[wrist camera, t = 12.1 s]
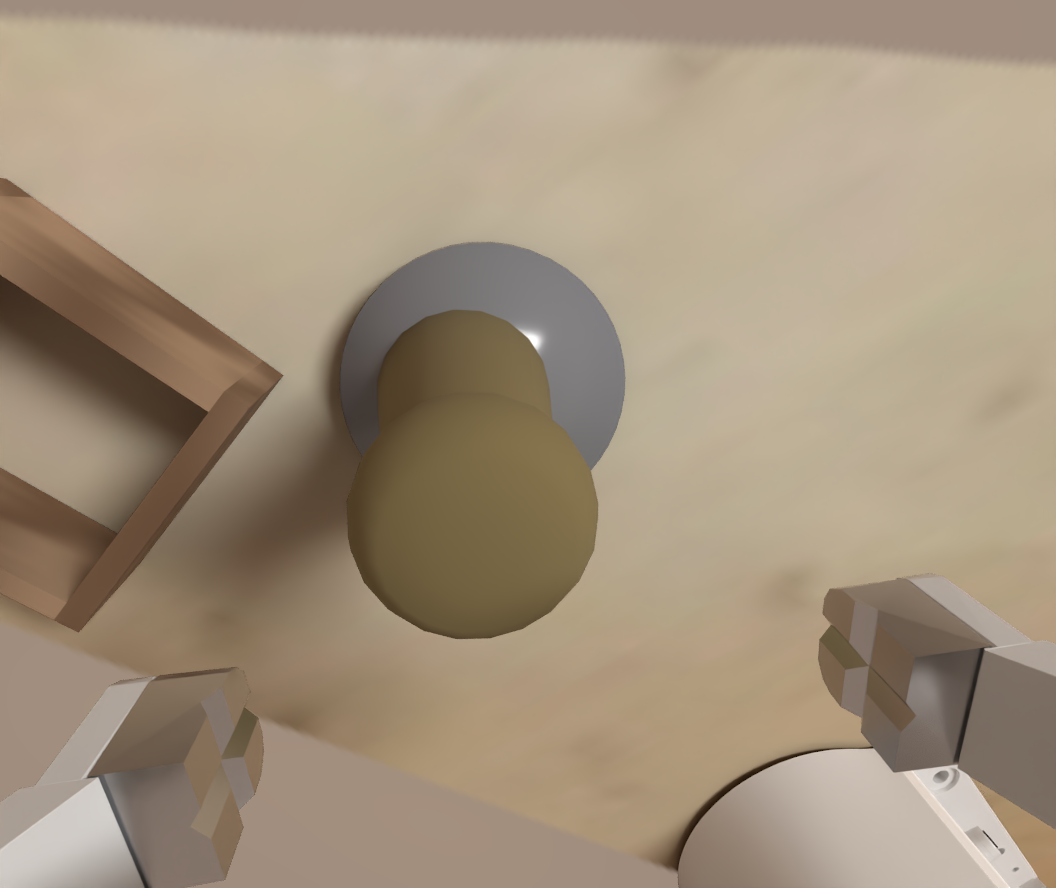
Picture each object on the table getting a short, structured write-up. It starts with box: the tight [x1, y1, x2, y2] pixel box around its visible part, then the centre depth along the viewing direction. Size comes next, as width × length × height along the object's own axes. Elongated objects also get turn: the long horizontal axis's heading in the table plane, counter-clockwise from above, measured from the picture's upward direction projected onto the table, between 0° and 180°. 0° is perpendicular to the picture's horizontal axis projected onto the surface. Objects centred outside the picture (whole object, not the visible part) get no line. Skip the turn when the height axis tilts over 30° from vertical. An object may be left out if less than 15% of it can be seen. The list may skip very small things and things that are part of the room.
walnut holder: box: [0, 178, 283, 632], centre depth 19 cm, size 10×10×4 cm
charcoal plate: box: [340, 242, 625, 470], centre depth 22 cm, size 10×10×1 cm
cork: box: [347, 310, 598, 639], centre depth 17 cm, size 6×6×11 cm
